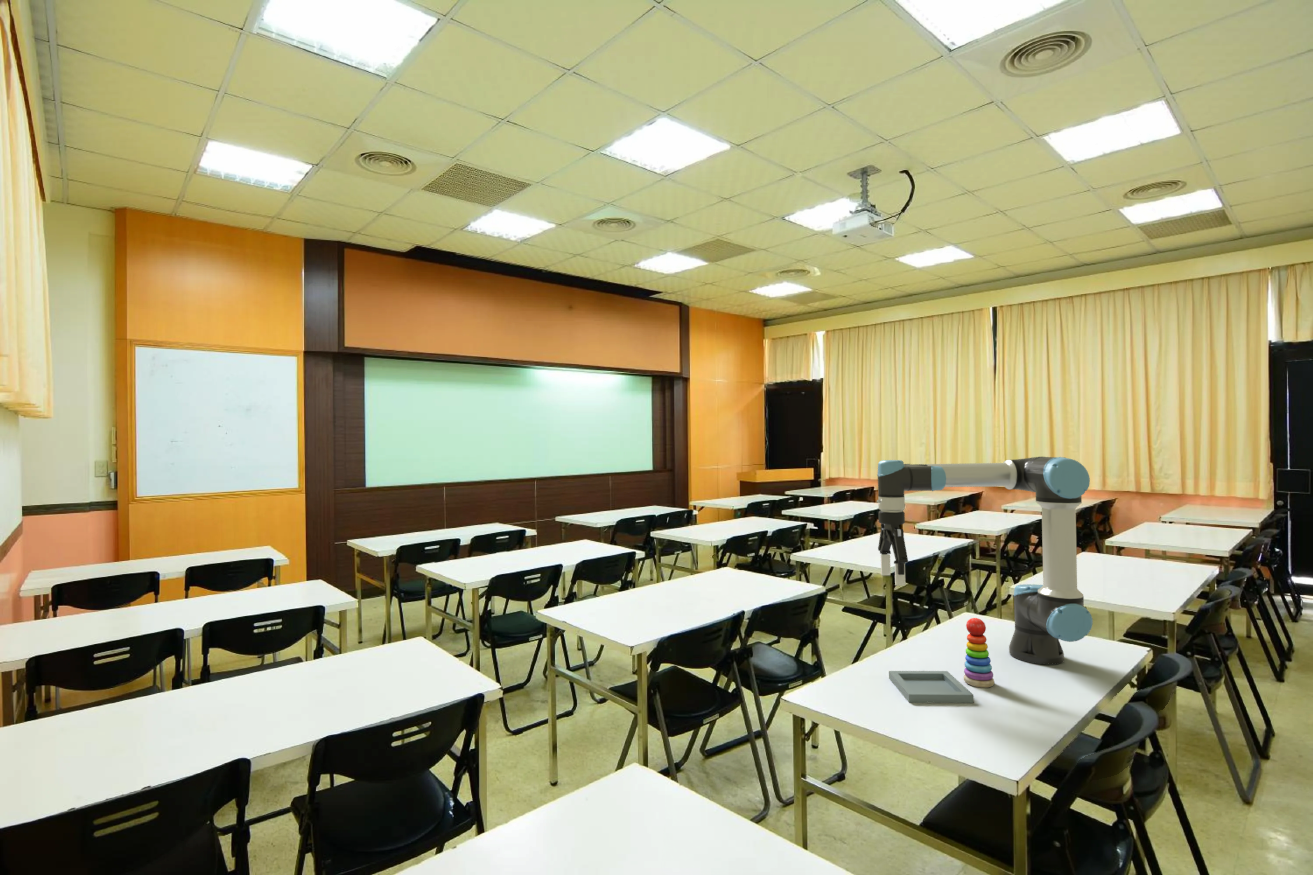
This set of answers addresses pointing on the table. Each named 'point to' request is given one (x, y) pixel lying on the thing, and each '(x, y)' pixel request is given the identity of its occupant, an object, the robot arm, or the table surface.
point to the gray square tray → (930, 687)
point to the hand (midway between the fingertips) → (892, 580)
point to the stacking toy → (977, 656)
